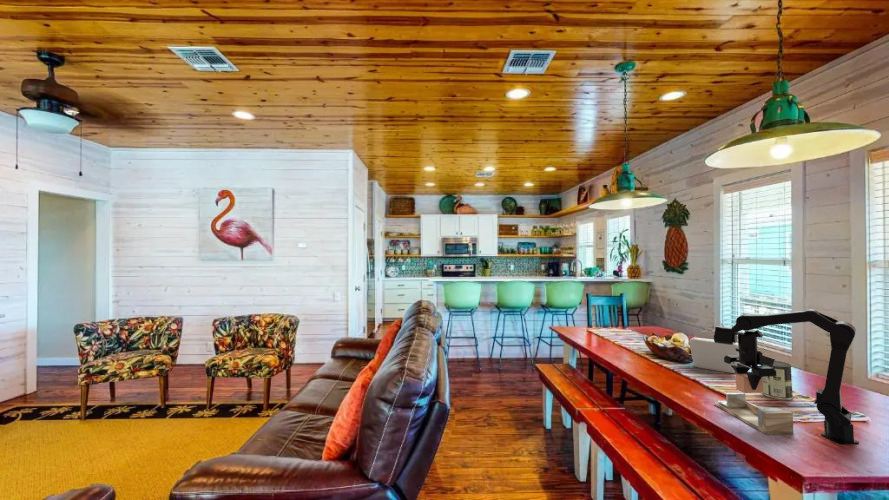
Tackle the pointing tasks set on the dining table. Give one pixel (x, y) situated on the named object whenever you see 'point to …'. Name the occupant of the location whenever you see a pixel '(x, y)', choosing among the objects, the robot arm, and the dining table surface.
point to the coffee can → (779, 382)
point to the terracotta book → (747, 384)
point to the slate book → (761, 414)
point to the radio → (712, 354)
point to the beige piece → (763, 418)
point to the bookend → (734, 400)
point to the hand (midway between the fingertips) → (749, 387)
